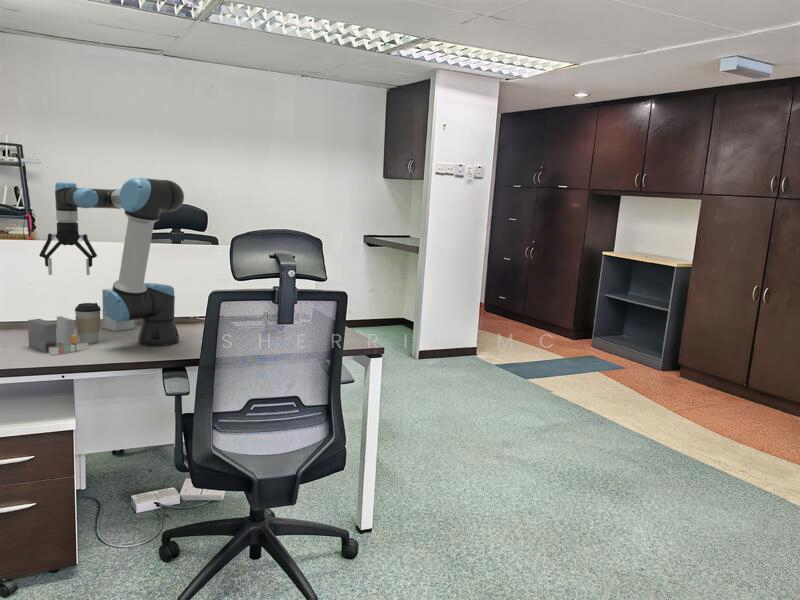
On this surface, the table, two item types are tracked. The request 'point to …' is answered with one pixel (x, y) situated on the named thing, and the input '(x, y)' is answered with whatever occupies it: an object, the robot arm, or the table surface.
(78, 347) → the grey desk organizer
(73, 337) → the orange stepped block
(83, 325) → the coffee cup
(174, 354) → the table surface
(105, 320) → the supplement box
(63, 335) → the light grey slab
